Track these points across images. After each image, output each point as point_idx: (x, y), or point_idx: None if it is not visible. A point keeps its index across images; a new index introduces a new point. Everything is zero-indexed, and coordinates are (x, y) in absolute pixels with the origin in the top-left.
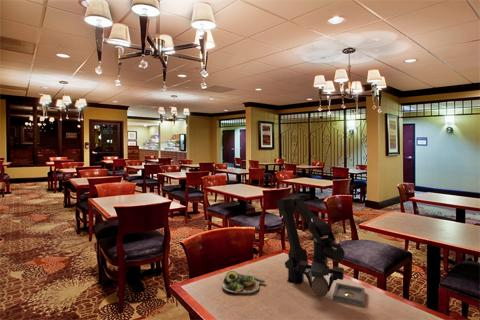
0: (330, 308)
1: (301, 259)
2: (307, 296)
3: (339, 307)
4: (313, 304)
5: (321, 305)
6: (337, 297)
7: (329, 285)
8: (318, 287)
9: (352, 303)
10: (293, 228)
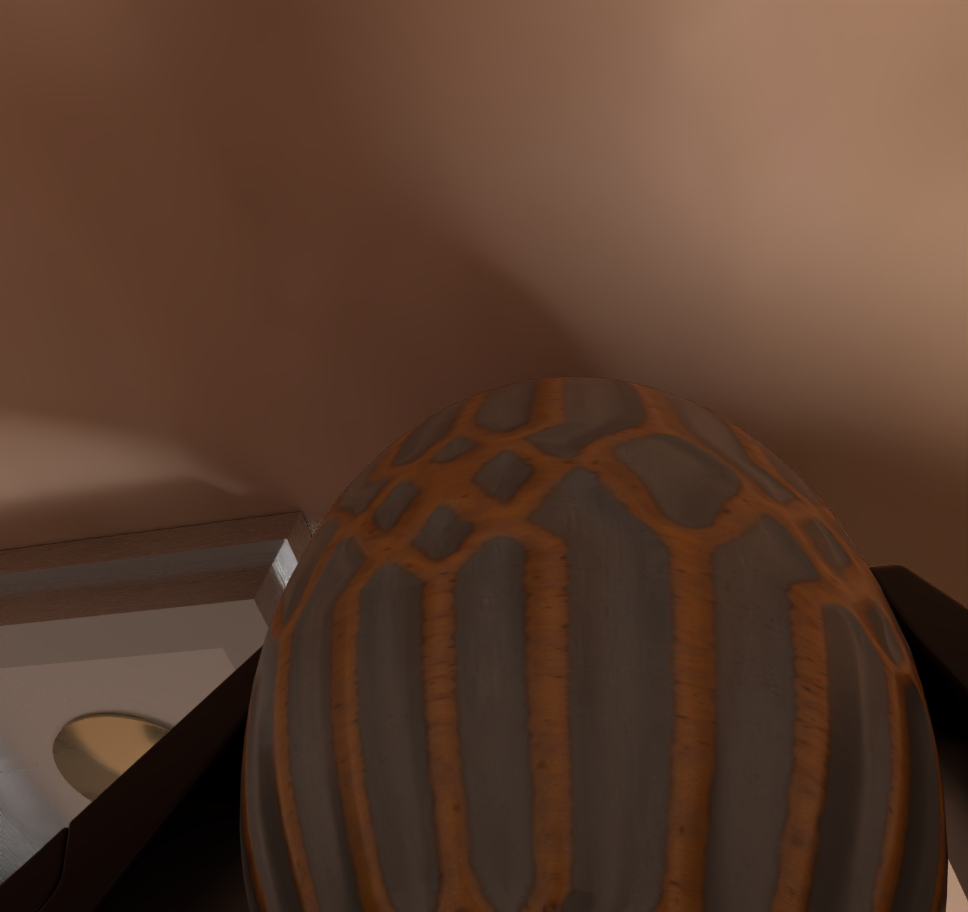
0: (121, 131)
1: None
2: (886, 335)
3: (18, 320)
4: (597, 3)
5: (375, 119)
6: (173, 584)
7: (150, 800)
8: (511, 524)
9: None
10: None
